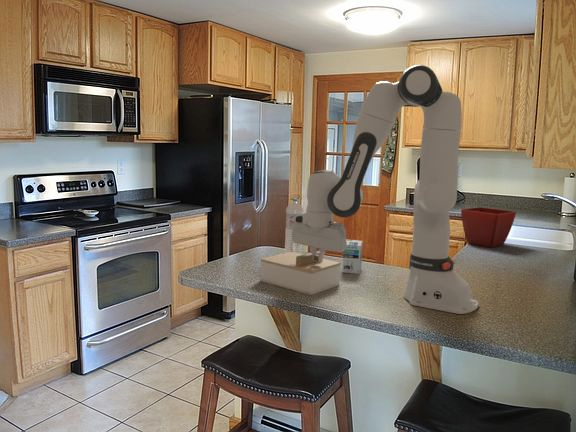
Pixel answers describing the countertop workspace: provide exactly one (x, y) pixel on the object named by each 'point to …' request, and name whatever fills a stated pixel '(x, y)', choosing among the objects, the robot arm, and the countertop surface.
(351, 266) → the light bulb box
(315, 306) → the countertop surface
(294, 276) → the base
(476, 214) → the plant pot
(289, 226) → the water bottle
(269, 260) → the tan box lid
